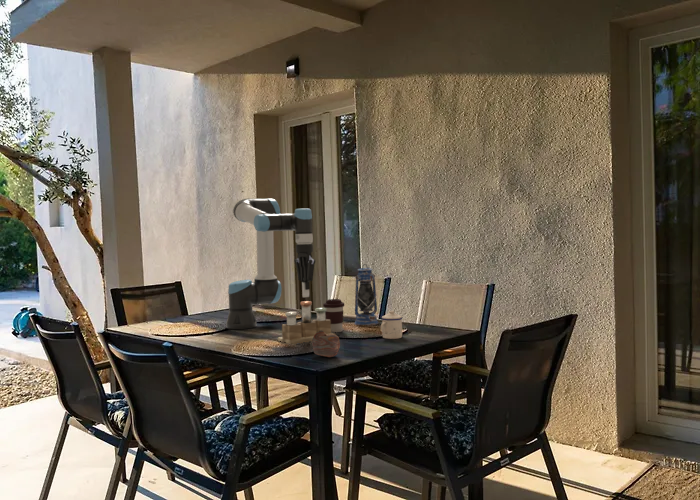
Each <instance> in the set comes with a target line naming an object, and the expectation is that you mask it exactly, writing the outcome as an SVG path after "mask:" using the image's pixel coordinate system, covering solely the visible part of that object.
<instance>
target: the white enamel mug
mask: <svg viewBox="0 0 700 500" xmlns="http://www.w3.org/2000/svg"><path fill="white" fill-rule="evenodd" d="M381 321H382V322H381V324H380V330H381V333H382V338H383V339H389V340H394V339H395V340H396V339H397V340H398V339H401V338H402V337H403V317H402V315H399V314H398V313H395V311H394V310H389V312H388V313H386V314H385V315H382V316H381Z"/></svg>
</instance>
